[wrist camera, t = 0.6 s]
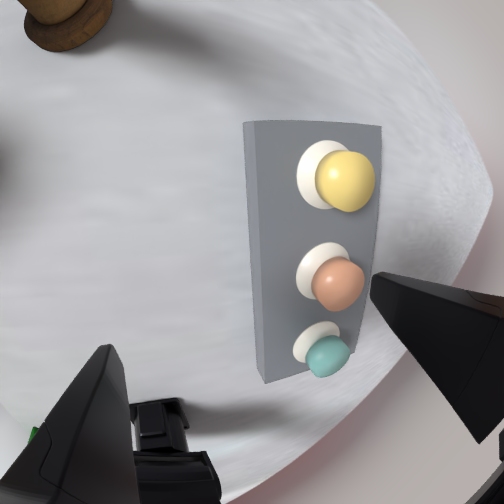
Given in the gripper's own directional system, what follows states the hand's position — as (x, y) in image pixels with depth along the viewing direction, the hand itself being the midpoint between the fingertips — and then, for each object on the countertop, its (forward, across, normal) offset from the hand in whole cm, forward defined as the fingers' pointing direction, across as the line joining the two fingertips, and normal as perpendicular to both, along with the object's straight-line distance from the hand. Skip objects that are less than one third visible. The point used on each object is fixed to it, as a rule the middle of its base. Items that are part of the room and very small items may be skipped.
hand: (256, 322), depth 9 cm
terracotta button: (+10, -9, +6) cm, 15 cm away
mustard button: (+10, -10, -2) cm, 14 cm away
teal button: (+10, -9, +14) cm, 19 cm away
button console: (+14, -9, +6) cm, 18 cm away
